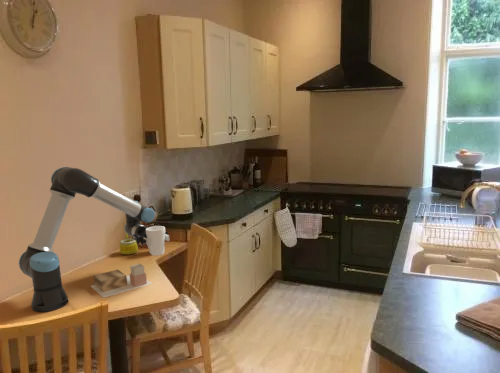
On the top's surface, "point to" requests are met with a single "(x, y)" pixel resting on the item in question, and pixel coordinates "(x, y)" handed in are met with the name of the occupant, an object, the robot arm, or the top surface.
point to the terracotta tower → (137, 275)
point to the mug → (128, 246)
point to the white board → (118, 290)
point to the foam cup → (156, 239)
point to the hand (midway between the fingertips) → (159, 240)
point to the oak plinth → (110, 280)
